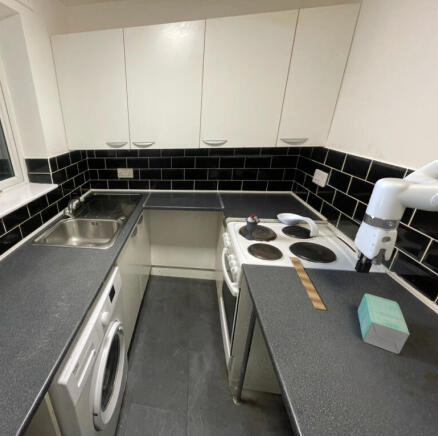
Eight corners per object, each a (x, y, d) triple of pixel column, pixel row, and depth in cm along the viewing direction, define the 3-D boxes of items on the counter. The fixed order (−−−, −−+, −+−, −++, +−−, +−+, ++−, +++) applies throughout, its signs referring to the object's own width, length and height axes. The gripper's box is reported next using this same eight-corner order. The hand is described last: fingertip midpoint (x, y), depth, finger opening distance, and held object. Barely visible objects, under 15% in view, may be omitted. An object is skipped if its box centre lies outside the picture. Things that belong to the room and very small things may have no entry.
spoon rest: (271, 219, 136) (274, 208, 133) (288, 217, 138) (291, 206, 135) (305, 238, 115) (308, 225, 112) (324, 235, 117) (328, 222, 114)
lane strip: (289, 257, 100) (289, 256, 100) (297, 258, 100) (297, 257, 99) (315, 308, 74) (315, 307, 74) (326, 310, 73) (326, 309, 73)
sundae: (244, 240, 115) (248, 213, 109) (241, 234, 121) (245, 208, 115) (258, 241, 114) (263, 213, 107) (254, 235, 120) (259, 208, 113)
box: (388, 319, 69) (398, 300, 66) (399, 355, 59) (411, 335, 56) (356, 309, 73) (364, 291, 70) (362, 341, 63) (371, 322, 60)
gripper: (416, 233, 60) (390, 288, 68) (380, 211, 73) (362, 259, 81) (380, 231, 62) (359, 284, 70) (352, 210, 75) (337, 257, 83)
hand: (361, 271), depth 75 cm, fingers closed
